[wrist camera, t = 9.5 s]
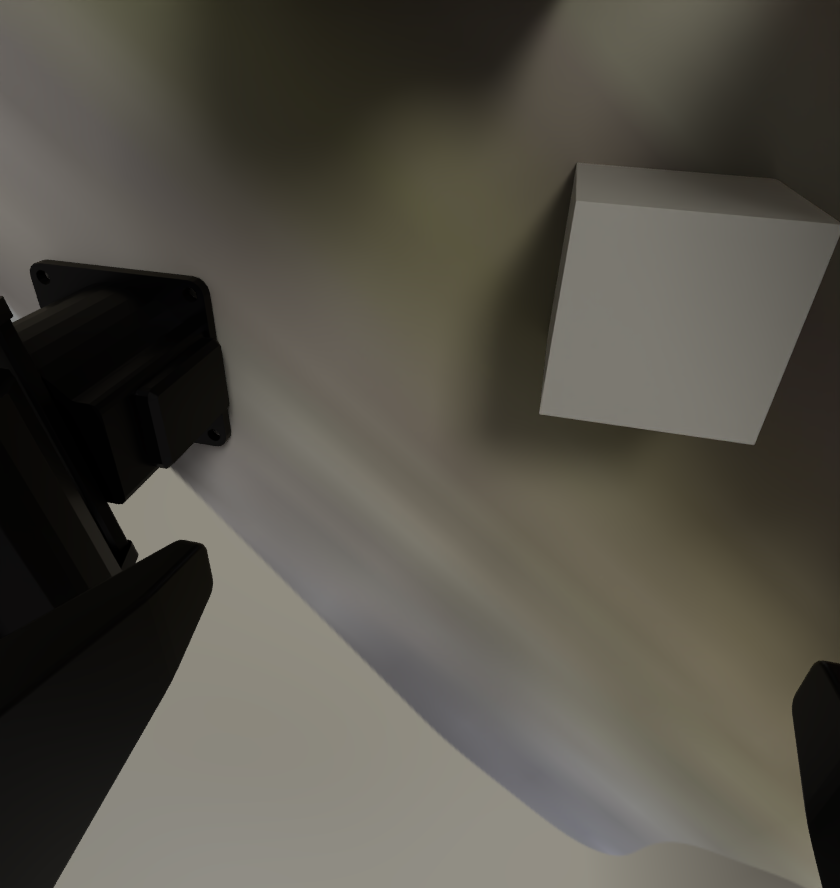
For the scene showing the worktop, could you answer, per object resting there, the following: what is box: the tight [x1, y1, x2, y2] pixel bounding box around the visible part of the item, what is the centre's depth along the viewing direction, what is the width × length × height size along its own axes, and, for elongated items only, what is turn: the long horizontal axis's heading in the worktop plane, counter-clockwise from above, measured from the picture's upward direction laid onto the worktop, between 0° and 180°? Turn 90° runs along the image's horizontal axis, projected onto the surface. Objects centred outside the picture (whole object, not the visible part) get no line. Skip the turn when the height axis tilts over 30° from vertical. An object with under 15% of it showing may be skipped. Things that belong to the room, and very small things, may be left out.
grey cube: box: [539, 163, 840, 445], centre depth 16 cm, size 5×5×5 cm
